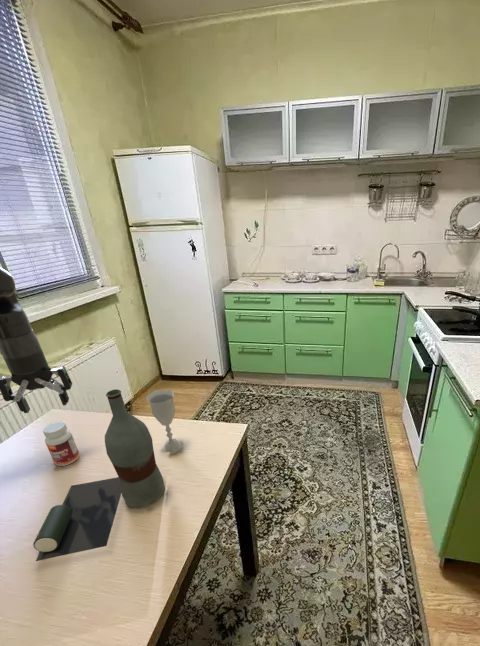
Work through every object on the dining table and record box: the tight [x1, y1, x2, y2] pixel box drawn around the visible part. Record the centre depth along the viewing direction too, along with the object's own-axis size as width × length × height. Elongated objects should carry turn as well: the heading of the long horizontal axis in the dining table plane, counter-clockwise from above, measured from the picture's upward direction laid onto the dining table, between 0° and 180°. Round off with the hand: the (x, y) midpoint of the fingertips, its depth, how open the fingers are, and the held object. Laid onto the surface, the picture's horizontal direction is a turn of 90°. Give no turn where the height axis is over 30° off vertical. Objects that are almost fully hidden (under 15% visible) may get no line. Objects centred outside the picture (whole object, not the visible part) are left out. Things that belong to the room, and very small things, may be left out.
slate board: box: [35, 476, 122, 562], centre depth 74 cm, size 13×20×2 cm, turn 13°
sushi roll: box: [32, 504, 73, 552], centre depth 68 cm, size 4×8×4 cm, turn 13°
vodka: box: [104, 389, 165, 509], centre depth 72 cm, size 9×9×30 cm
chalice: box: [145, 389, 183, 455], centre depth 91 cm, size 7×7×18 cm
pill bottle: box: [42, 421, 80, 467], centre depth 90 cm, size 6×6×11 cm
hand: (46, 407), depth 85 cm, fingers open, 8 cm apart
